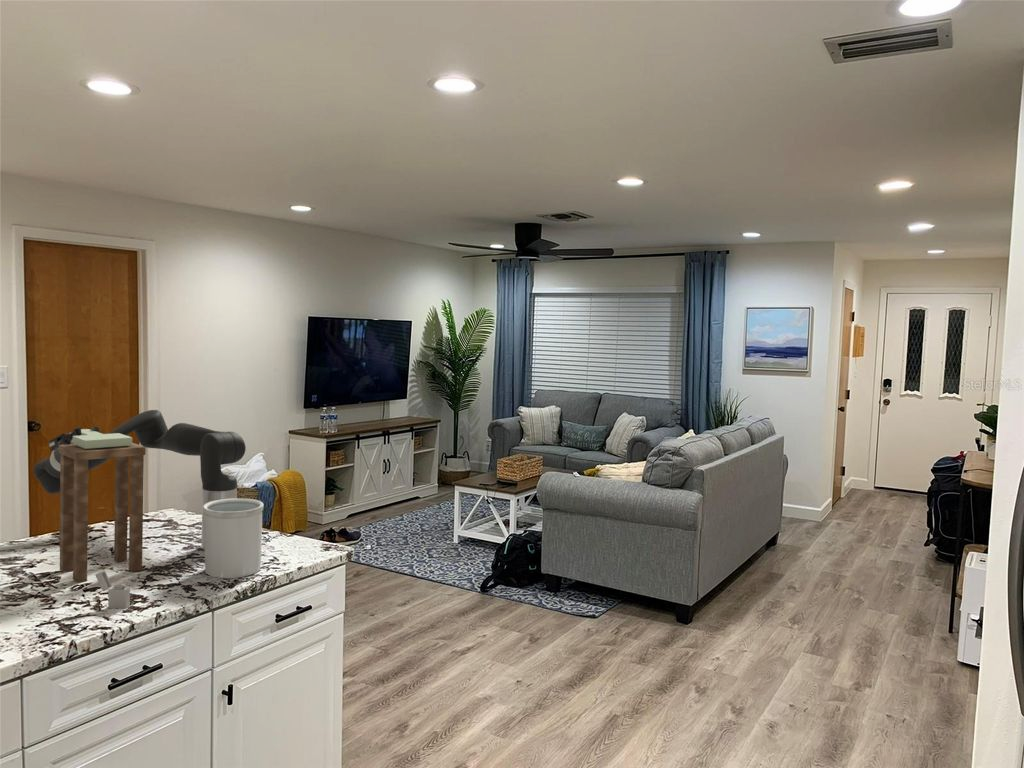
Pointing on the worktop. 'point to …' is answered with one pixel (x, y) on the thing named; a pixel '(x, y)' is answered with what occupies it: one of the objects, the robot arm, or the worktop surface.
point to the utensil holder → (232, 537)
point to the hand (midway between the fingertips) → (87, 430)
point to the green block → (100, 439)
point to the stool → (77, 505)
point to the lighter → (114, 592)
